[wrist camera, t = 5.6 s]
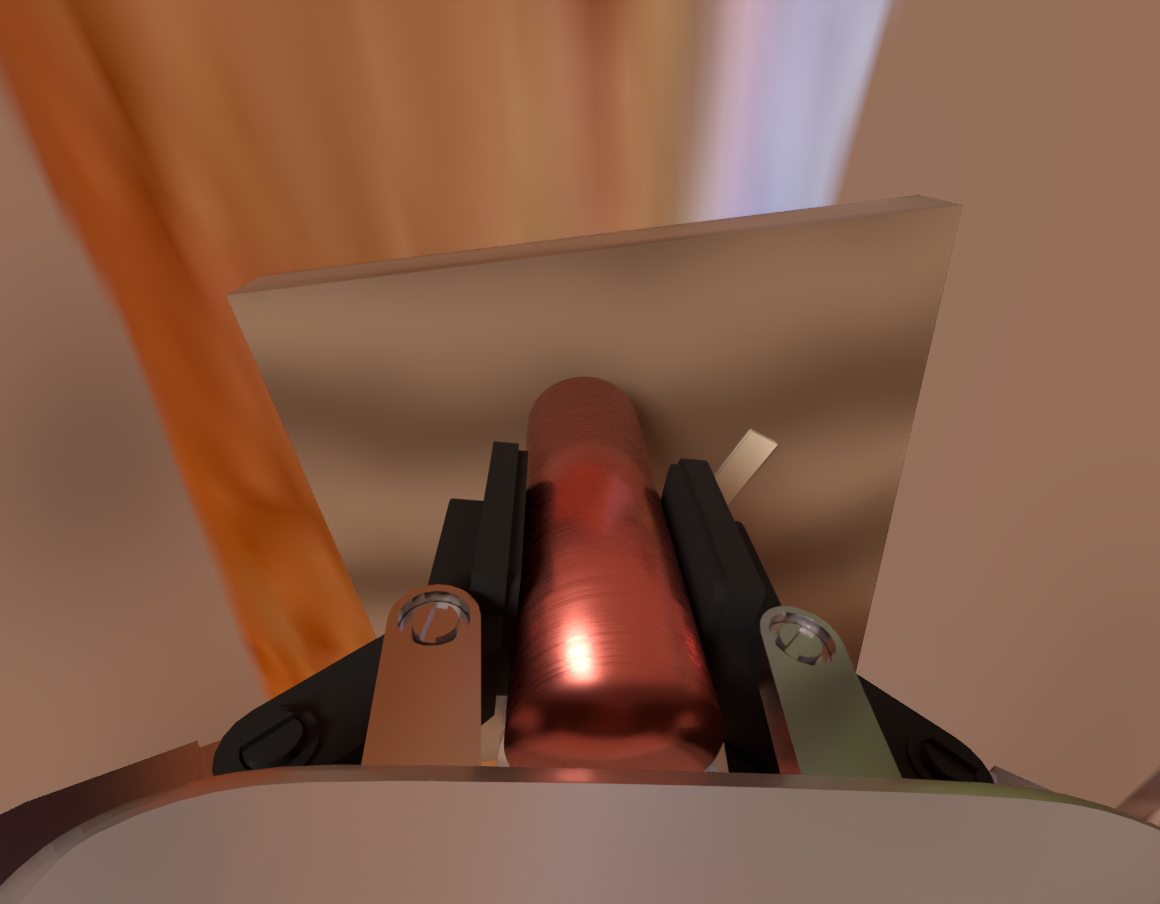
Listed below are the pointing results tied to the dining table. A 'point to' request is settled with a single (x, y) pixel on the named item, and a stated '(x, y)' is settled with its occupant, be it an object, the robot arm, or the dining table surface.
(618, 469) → the lever
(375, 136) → the dining table surface
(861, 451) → the lever board
